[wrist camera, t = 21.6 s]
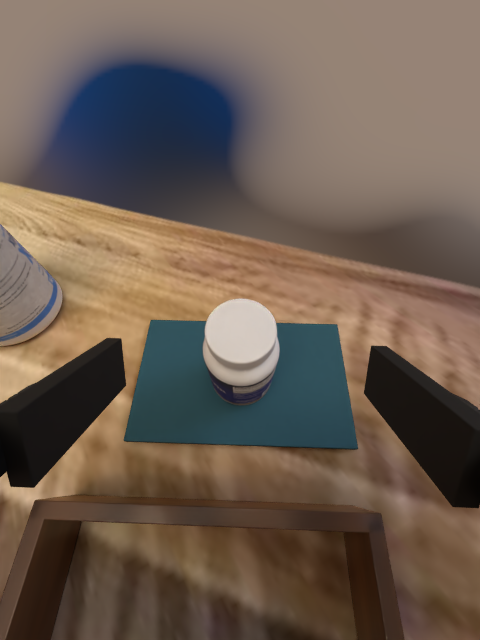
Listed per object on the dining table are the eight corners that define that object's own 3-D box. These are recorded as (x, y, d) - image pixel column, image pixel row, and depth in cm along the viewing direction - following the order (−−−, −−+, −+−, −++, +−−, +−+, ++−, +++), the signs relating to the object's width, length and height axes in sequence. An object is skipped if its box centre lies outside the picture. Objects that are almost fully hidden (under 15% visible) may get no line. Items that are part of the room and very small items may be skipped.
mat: (335, 326, 29) (337, 324, 29) (356, 449, 23) (358, 448, 23) (152, 321, 29) (150, 319, 29) (125, 441, 23) (123, 440, 23)
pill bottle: (204, 359, 27) (186, 304, 18) (258, 341, 28) (265, 281, 19) (221, 416, 24) (210, 384, 15) (280, 394, 25) (301, 353, 16)
